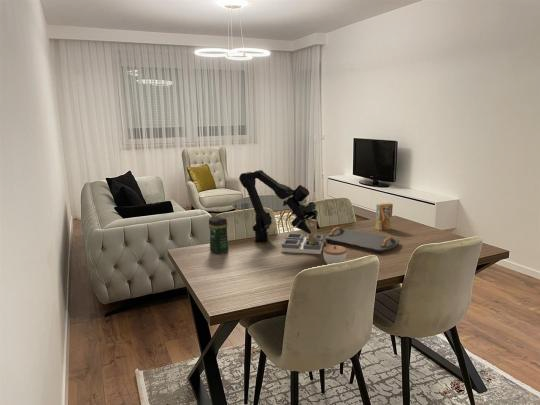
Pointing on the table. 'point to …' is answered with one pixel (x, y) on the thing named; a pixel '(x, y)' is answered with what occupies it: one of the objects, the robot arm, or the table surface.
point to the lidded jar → (334, 254)
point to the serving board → (362, 239)
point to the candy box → (383, 216)
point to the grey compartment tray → (301, 244)
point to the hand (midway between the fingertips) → (315, 231)
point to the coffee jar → (218, 235)
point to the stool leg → (312, 231)
